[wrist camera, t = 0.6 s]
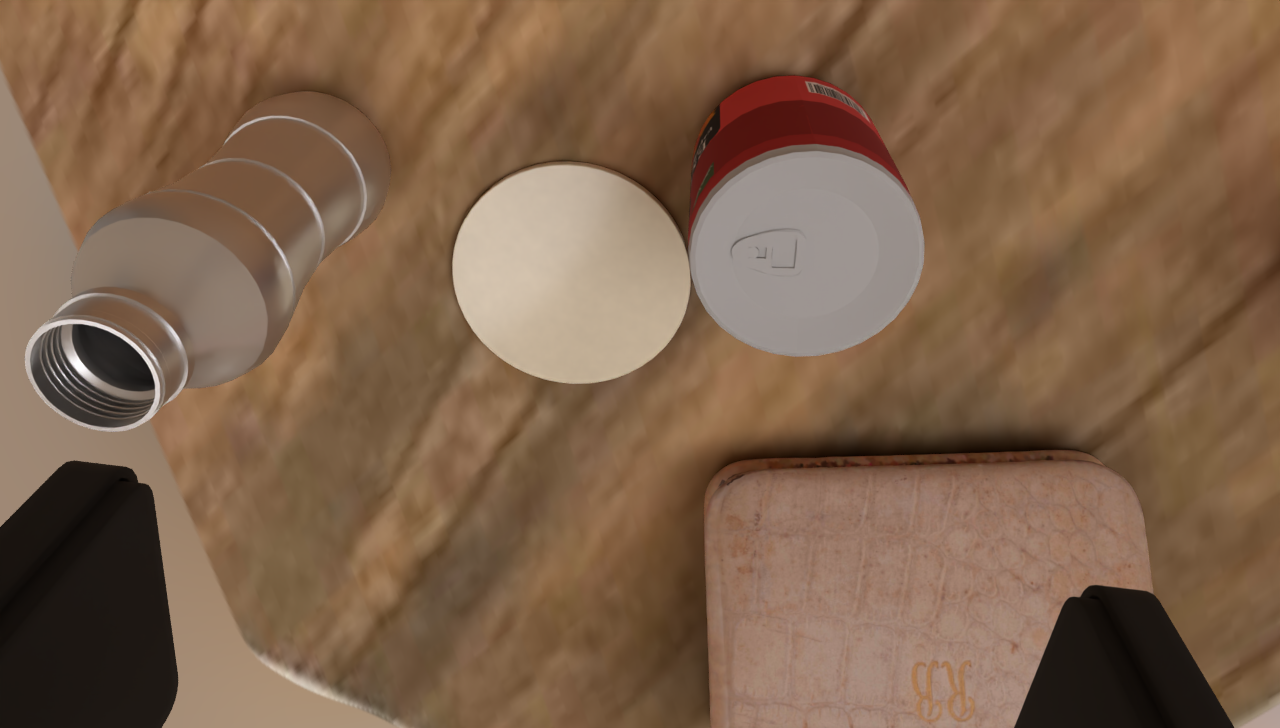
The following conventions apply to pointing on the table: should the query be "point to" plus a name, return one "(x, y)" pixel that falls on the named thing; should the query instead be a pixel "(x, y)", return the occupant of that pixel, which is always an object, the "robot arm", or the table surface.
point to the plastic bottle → (209, 263)
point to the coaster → (571, 272)
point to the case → (903, 582)
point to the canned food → (799, 220)
